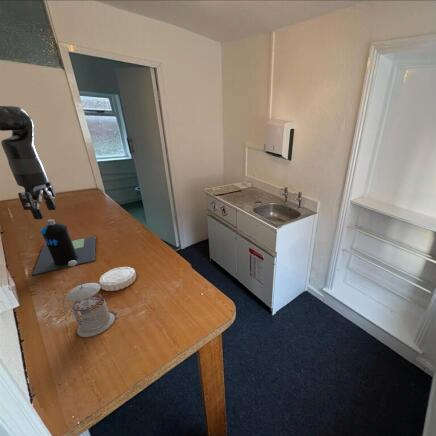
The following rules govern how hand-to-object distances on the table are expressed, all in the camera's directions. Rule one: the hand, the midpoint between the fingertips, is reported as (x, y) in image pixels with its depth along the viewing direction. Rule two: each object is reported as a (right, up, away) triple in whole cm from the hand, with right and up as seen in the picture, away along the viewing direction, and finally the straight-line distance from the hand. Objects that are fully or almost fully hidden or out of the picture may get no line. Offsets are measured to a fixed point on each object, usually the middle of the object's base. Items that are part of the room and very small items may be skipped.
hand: (46, 214), depth 86 cm
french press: (+26, -37, -9) cm, 46 cm away
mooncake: (+20, -28, +10) cm, 36 cm away
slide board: (-15, -18, +24) cm, 34 cm away
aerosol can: (-11, -21, +19) cm, 30 cm away
